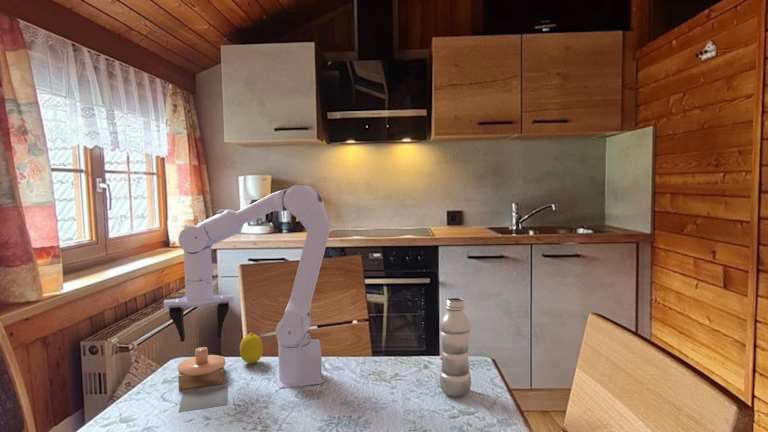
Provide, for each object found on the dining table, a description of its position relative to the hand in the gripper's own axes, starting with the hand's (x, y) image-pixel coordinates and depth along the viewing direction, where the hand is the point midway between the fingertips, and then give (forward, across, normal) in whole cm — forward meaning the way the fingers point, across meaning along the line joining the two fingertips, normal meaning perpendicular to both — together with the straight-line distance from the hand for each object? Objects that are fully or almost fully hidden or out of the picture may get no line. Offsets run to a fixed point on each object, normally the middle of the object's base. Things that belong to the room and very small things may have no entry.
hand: (201, 338), depth 104 cm
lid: (+6, 0, 0) cm, 6 cm away
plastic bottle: (+10, -51, +25) cm, 58 cm away
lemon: (+10, -11, -6) cm, 16 cm away
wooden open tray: (+10, 0, 0) cm, 10 cm away
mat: (+10, -1, +10) cm, 14 cm away
